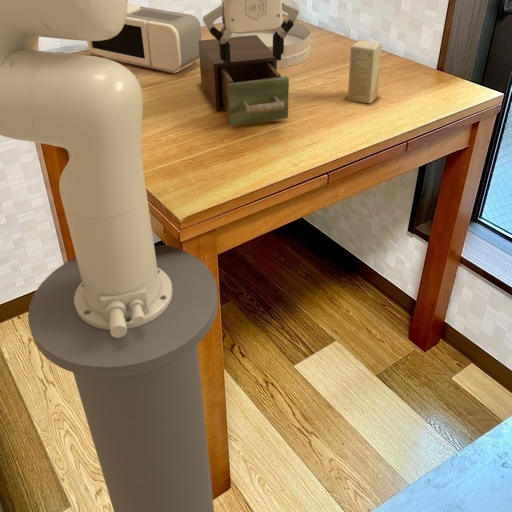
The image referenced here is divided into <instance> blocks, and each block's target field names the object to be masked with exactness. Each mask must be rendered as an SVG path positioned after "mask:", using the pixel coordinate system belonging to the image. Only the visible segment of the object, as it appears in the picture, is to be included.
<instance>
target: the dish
mask: <svg viewBox="0 0 512 512" xmlns="http://www.w3.org/2000/svg"><path fill="white" fill-rule="evenodd" d="M285 20H286V19H282V23H283V22H284V21H285ZM293 24H294V25H293V27H292V28H291V29H290V30H289V31H288V33H287V34H286V37H285V38H284V53H283V54H281V60H277V69H282V68H288V67H292V66H296V65H298V64H301V63H304V62H305V61H306V60H307V59H309V58H310V56H311V51H312V50H311V49H312V47H311V46H312V44H311V33H312V32H311V30H310V28H309V27H307V26H306V25H305V24H302V23H299V22H296V21H294V23H293ZM274 34H275V31H274V30H269V31H260V32H250V33H233V34H232V35H231V36H230V37H240V36H250V35H257V36H258V37H259V38H260V39H261V41H262V42H263V43H264V44H265V45H266V46H267V47H268V48H269V49H270V50H271V51H272V52H273V35H274Z"/></svg>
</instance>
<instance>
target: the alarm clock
mask: <svg viewBox="0 0 512 512" xmlns="http://www.w3.org/2000/svg"><path fill="white" fill-rule="evenodd" d="M200 40H203V38H202V26H201V22H200V20H199V19H198V18H197V17H196V16H195V15H193V14H190V13H183V12H178V11H171V10H164V9H159V8H153V7H147V6H140V5H137V4H132V3H128V5H127V15H126V20H125V24H124V26H123V28H122V30H121V31H120V32H119V33H118V34H117V35H116V36H114V37H112V38H110V39H107V40H102V41H86V44H87V46H88V49H89V50H90V52H92V53H93V54H94V55H96V56H101V57H102V58H105V59H109V60H112V61H115V62H120V63H126V64H129V65H134V66H138V67H144V68H148V69H153V70H158V71H163V72H167V73H172V74H176V73H178V72H180V71H182V70H184V69H186V68H187V67H189V66H191V65H194V64H193V63H194V61H196V60H198V59H200V56H199V42H198V41H200Z"/></svg>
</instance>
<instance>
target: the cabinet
mask: <svg viewBox="0 0 512 512" xmlns="http://www.w3.org/2000/svg"><path fill="white" fill-rule="evenodd" d="M198 42H199V56H200V57H199V69H200V82H201V87H202V89H203V90H204V93H205V94H206V95H207V97H208V99H209V102H210V103H211V104H212V106H213V108H214V109H215V111H216V112H222V111H223V112H224V111H226V110H225V108H224V106H223V105H222V103H221V101H220V96H219V77H218V67H227V66H226V65H225V63H224V62H223V60H221V59H220V48H219V41H218V40H217V39H216V38H212V39H210V38H209V39H202V40H200V41H198ZM228 43H229V44H230V63H231V64H230V66H236V65H245V64H254V63H263V62H270V63H271V65H272V66H273V67H274V68H275V69H276V70H277V71H278V68H277V59H276V58H275V57H274V56H273V52H272V51H271V50H270V49H269V48H268V47H267V46H266V45H265V44H264V43H263V42H262V41H261V39H260V38H259V37H258V36H257V35H250V36H240V37H230V38H229V39H228Z"/></svg>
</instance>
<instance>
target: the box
mask: <svg viewBox="0 0 512 512" xmlns="http://www.w3.org/2000/svg"><path fill="white" fill-rule="evenodd" d="M382 49H383V44H382V43H381V42H373V41H367V40H358V41H357V42H355V43H354V44H352V45H351V46H350V53H349V54H350V55H349V56H350V57H349V58H350V59H349V73H348V88H347V100H348V101H353V102H359V103H364V104H371V103H372V102H374V100H376V99H377V98H378V94H379V83H380V72H381V71H380V70H381V60H382Z"/></svg>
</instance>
